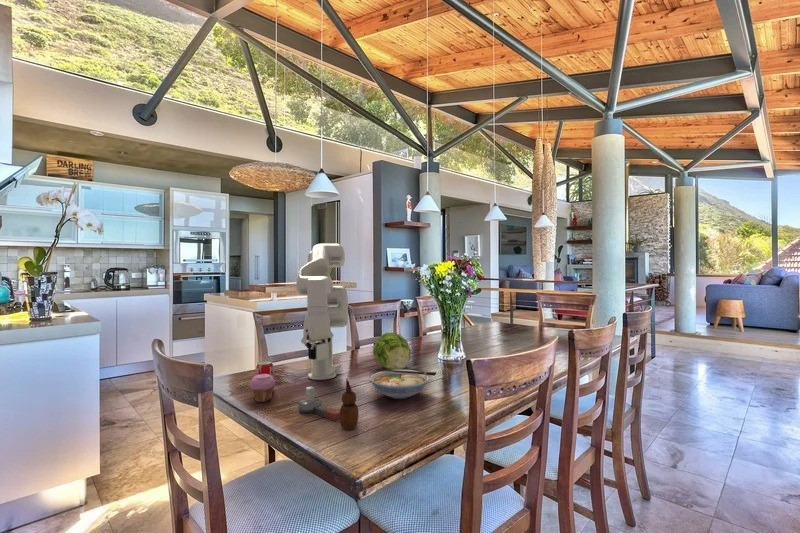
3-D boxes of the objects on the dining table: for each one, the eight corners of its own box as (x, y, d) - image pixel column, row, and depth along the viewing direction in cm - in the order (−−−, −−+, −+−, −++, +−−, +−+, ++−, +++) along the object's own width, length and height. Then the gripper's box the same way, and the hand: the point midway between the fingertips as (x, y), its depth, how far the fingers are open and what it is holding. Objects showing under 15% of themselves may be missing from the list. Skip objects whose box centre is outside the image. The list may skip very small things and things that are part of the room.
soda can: (268, 395, 160) (268, 365, 160) (252, 394, 162) (251, 364, 161) (277, 390, 167) (277, 360, 167) (261, 389, 168) (261, 360, 168)
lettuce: (380, 378, 184) (389, 342, 182) (366, 359, 205) (373, 326, 204) (415, 381, 190) (423, 346, 189) (397, 362, 212) (405, 330, 210)
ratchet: (312, 404, 150) (312, 383, 150) (348, 416, 138) (347, 393, 138) (293, 410, 144) (293, 388, 144) (329, 423, 132) (329, 399, 132)
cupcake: (264, 405, 149) (264, 378, 149) (245, 403, 152) (244, 376, 152) (279, 398, 157) (279, 372, 157) (261, 395, 160) (260, 370, 160)
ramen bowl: (357, 402, 152) (357, 380, 152) (381, 384, 174) (381, 365, 173) (421, 410, 143) (421, 386, 143) (438, 390, 165) (438, 370, 165)
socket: (319, 356, 161) (318, 341, 161) (327, 358, 158) (327, 342, 158) (308, 359, 157) (308, 343, 157) (317, 361, 154) (316, 345, 154)
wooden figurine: (340, 423, 132) (340, 377, 132) (358, 422, 132) (358, 376, 132) (339, 432, 125) (338, 383, 125) (358, 431, 126) (357, 382, 125)
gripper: (328, 307, 166) (328, 351, 166) (292, 312, 153) (293, 360, 153) (340, 308, 161) (341, 354, 162) (305, 313, 148) (305, 363, 149)
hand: (318, 356), depth 158 cm, fingers closed on socket, 5 cm apart
